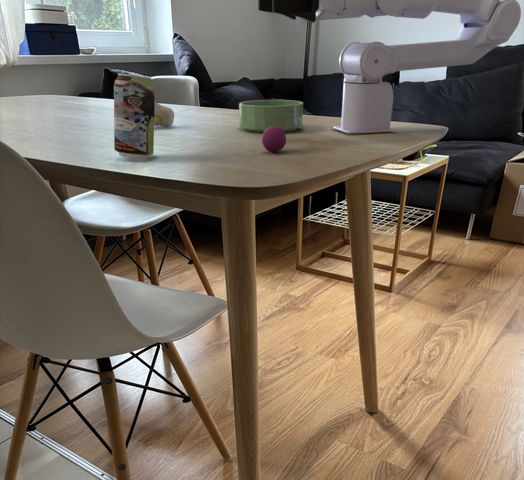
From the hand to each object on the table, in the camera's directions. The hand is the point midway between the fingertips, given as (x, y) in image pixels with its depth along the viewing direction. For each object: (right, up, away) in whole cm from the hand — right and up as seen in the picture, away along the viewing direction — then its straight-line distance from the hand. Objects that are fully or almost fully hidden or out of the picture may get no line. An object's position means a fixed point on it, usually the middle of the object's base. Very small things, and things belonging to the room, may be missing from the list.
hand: (265, 4), depth 88 cm
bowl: (+1, -13, +20) cm, 24 cm away
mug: (-25, -11, +24) cm, 36 cm away
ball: (+1, -25, -4) cm, 25 cm away
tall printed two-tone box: (-20, -29, -6) cm, 36 cm away
